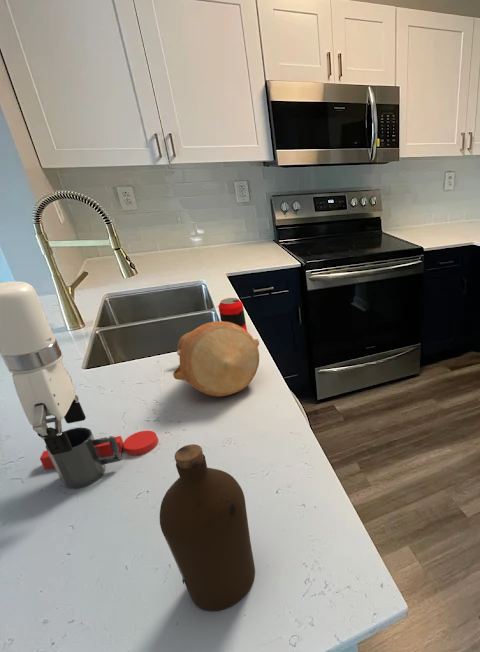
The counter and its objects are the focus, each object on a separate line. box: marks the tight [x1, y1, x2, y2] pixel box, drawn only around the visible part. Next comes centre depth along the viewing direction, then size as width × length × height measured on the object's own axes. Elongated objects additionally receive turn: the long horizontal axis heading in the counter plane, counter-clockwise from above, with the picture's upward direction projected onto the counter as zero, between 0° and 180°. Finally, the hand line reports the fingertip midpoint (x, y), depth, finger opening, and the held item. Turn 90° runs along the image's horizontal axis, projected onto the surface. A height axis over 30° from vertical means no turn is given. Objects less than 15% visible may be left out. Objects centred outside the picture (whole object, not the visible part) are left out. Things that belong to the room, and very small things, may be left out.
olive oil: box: [159, 443, 256, 612], centre depth 58 cm, size 11×11×25 cm
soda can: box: [218, 297, 248, 332], centre depth 139 cm, size 8×8×12 cm
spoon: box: [39, 430, 159, 470], centre depth 88 cm, size 21×6×3 cm, turn 111°
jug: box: [172, 320, 260, 397], centre depth 112 cm, size 20×19×30 cm
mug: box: [44, 427, 123, 490], centre depth 82 cm, size 11×7×9 cm, turn 111°
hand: (69, 435), depth 79 cm, fingers open, 9 cm apart
